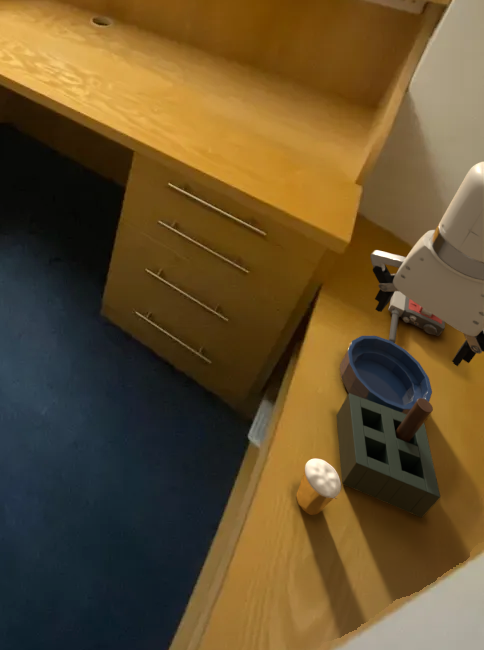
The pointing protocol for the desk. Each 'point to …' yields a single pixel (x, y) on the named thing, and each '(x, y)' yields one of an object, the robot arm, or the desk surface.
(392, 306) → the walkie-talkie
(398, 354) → the bowl
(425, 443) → the holder
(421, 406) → the stick
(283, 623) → the desk surface
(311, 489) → the beer glass
